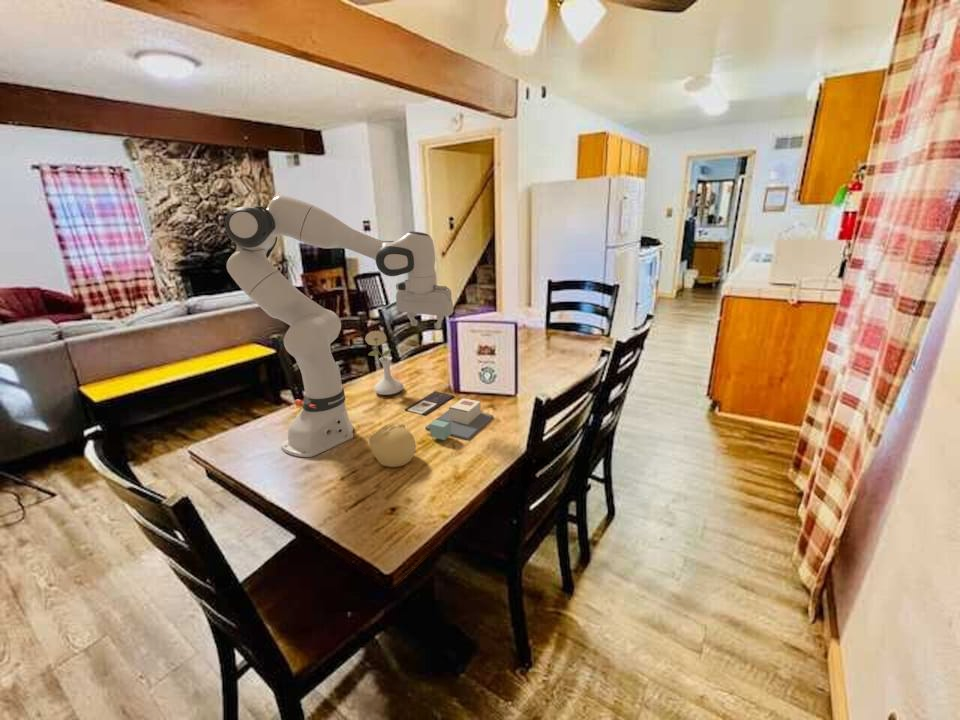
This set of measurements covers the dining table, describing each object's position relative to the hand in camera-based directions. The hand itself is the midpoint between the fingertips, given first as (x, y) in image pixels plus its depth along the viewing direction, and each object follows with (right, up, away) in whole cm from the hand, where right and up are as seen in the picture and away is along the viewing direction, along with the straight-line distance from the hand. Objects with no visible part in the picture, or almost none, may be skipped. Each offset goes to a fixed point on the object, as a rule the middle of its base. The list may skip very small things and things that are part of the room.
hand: (426, 326), depth 143 cm
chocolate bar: (-1, -27, +18) cm, 33 cm away
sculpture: (-7, -40, -18) cm, 44 cm away
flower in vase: (-19, -24, +29) cm, 42 cm away
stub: (+6, -34, -7) cm, 35 cm away
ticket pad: (+11, -32, +2) cm, 34 cm away
